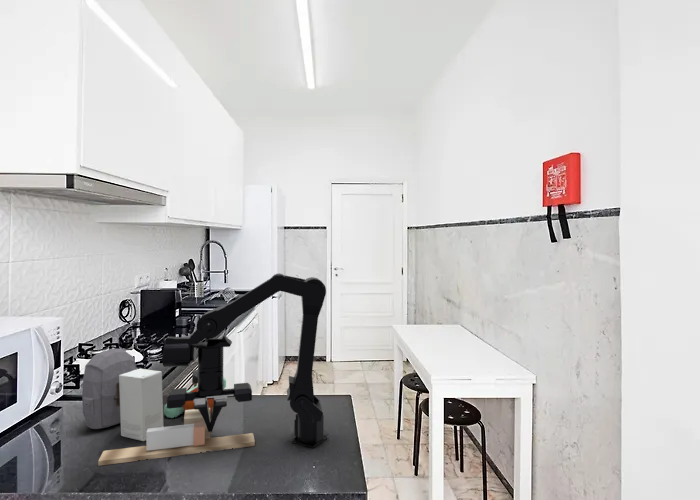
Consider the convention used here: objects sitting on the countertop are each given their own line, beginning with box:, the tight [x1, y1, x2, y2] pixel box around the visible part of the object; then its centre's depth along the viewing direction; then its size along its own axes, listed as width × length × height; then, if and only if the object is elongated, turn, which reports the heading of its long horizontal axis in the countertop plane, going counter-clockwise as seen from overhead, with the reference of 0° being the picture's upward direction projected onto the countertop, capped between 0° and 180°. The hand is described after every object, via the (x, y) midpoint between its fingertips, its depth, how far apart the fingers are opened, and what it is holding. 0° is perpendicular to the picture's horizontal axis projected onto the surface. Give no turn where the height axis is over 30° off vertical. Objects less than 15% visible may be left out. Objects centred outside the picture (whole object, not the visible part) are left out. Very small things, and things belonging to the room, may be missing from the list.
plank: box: [97, 432, 256, 467], centre depth 102 cm, size 33×5×1 cm, turn 108°
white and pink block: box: [145, 422, 205, 451], centre depth 102 cm, size 12×3×4 cm, turn 108°
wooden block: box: [183, 408, 211, 439], centre depth 109 cm, size 6×6×6 cm
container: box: [163, 376, 227, 419], centre depth 133 cm, size 6×6×25 cm
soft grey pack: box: [81, 348, 138, 430], centre depth 117 cm, size 15×8×20 cm, turn 156°
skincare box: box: [119, 368, 164, 442], centre depth 111 cm, size 8×7×16 cm
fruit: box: [183, 386, 213, 414], centre depth 123 cm, size 9×9×8 cm
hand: (210, 431), depth 104 cm, fingers closed
